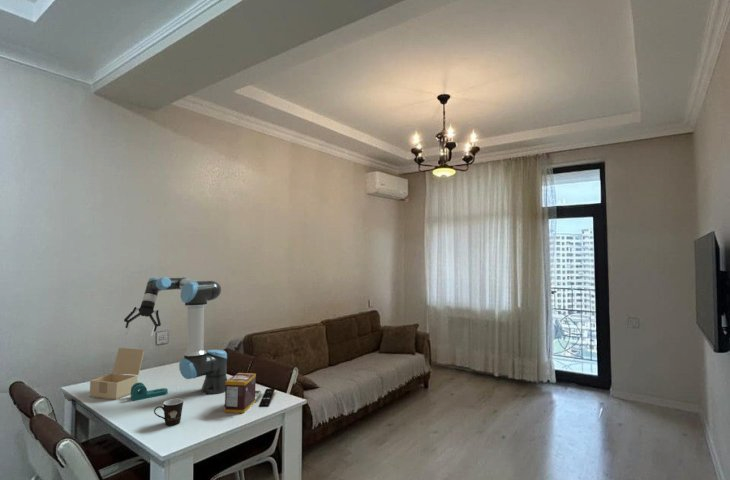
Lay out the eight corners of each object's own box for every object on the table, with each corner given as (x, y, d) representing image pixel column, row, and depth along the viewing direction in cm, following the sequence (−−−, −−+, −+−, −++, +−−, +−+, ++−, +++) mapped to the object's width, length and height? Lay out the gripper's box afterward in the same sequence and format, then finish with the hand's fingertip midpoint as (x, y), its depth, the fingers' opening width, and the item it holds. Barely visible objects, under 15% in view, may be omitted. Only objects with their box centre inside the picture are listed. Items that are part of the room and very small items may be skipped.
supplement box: (255, 402, 210) (256, 373, 211) (243, 413, 194) (244, 382, 195) (237, 401, 211) (238, 372, 212) (224, 412, 196) (225, 381, 196)
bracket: (132, 401, 209) (133, 386, 209) (130, 398, 214) (131, 383, 215) (168, 394, 220) (169, 380, 221) (166, 391, 226) (166, 377, 226)
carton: (115, 400, 210) (116, 383, 211) (89, 396, 214) (89, 380, 215) (136, 391, 224) (137, 375, 224) (111, 388, 228) (112, 373, 228)
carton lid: (143, 349, 229) (144, 349, 230) (118, 347, 233) (119, 347, 234) (137, 375, 225) (138, 375, 225) (112, 372, 229) (113, 372, 229)
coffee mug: (185, 419, 186) (186, 398, 187) (177, 427, 177) (178, 405, 178) (161, 419, 186) (162, 398, 186) (152, 427, 177) (153, 405, 178)
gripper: (169, 306, 252) (161, 339, 242) (126, 300, 242) (115, 333, 232) (170, 303, 247) (161, 336, 237) (126, 296, 236) (115, 330, 226)
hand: (139, 335), depth 234 cm, fingers open, 13 cm apart
